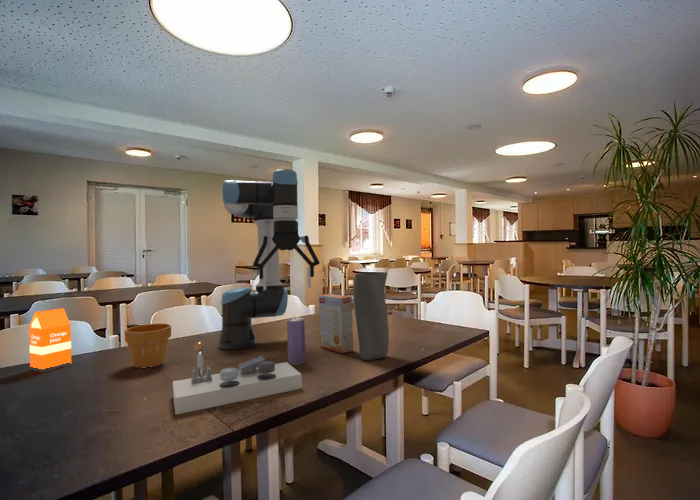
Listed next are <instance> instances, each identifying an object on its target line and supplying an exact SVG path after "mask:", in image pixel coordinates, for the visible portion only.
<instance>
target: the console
mask: <svg viewBox="0 0 700 500" xmlns="http://www.w3.org/2000/svg"><path fill="white" fill-rule="evenodd" d="M197 373H198V372H197V369H195V368H194V369H192V377H190V378H186V379H180V380H173V381H172V398H173V405H174V412H175V413H174V414H175V415H176V416H177V415H180V414H181V415H182V414H186V413H191V412H195V411H200V410H205V409H209V408H213V407H214V408H215V407H220V406H224V405H229V404H234V403H238V402H244V401H250V400H254V399H258V398H262V397H267V396H272V395H276V394H282V393H287V392H291V391H296V390H297V391H298V390H301V389H302V388H303V383H302V379H303V378H302V373H301V372H299V371H298V370H297V369H296V368H294V366H292V364H290V363H289V362H288V361H285V362H279V363H275V371H273V372H271V373H259V372H258V368H255V369H252V370H250V371H247V372H245V373H242V372H241V371H240V370H239V369H238V378H237V379H235V380H231V381H222V380H221V379H220V372H219V373H214V374H212V370H211V367H210V366H206V375H204V376H203V377H199V376H198V374H197Z"/></svg>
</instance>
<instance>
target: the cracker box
mask: <svg viewBox="0 0 700 500" xmlns="http://www.w3.org/2000/svg"><path fill="white" fill-rule="evenodd" d="M318 297H319V298H318V299H319V303H318V304H319V307H318V310H319V347H320V348H322V349H326V350H330V351H333V352H335V353H339V354H344V353H345V354H347V353H350V352H353V351H354V341H353V340H354V336H353V335H354V334H353V333H354V332H353V296H349V295H341V294H332V293H326V294H319V296H318Z"/></svg>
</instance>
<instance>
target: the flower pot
mask: <svg viewBox="0 0 700 500" xmlns="http://www.w3.org/2000/svg"><path fill="white" fill-rule="evenodd" d="M171 337H172V325H171V324H169V323H148V324H142V325H135V326H132V327H128V328H126V329H124V341H125V343H127V344H128V348H129V351H130V356H131V359H132V363H133V365H134V366H133V367H135V366H136V367H150V366H156V365H159V364H161V365H163V364H162V363H164V362H165V356H166V352H167V347H168V343H169V339H170V338H171ZM159 366H160V365H159ZM156 367H157V366H156Z"/></svg>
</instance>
